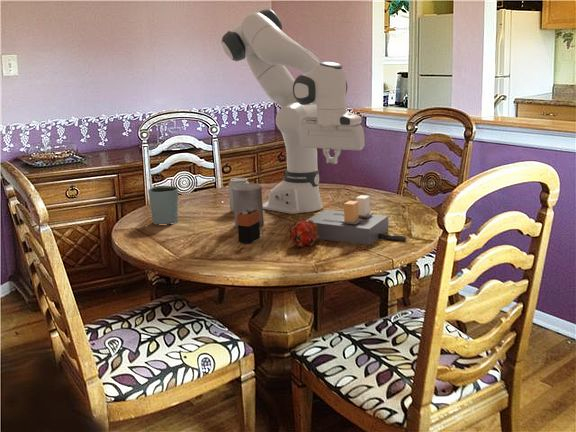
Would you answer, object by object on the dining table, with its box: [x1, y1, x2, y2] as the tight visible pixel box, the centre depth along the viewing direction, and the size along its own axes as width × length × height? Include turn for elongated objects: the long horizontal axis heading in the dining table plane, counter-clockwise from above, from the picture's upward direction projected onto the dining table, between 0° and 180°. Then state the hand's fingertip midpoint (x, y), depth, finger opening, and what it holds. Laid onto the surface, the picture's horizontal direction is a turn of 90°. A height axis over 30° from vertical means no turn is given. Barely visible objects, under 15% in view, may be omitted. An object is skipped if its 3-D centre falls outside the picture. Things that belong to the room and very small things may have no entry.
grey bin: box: [147, 185, 179, 225], centre depth 223 cm, size 10×10×12 cm
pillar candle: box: [233, 181, 265, 229], centre depth 214 cm, size 10×10×15 cm
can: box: [228, 177, 250, 213], centre depth 235 cm, size 8×8×12 cm
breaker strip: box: [305, 209, 407, 246], centre depth 201 cm, size 31×16×5 cm, turn 61°
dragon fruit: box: [289, 218, 320, 249], centre depth 193 cm, size 8×8×12 cm
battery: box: [237, 208, 261, 245], centre depth 199 cm, size 4×7×10 cm, turn 153°
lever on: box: [355, 194, 374, 218], centre depth 203 cm, size 5×5×6 cm
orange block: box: [341, 200, 362, 224], centre depth 196 cm, size 5×5×6 cm
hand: (332, 163), depth 196 cm, fingers closed
